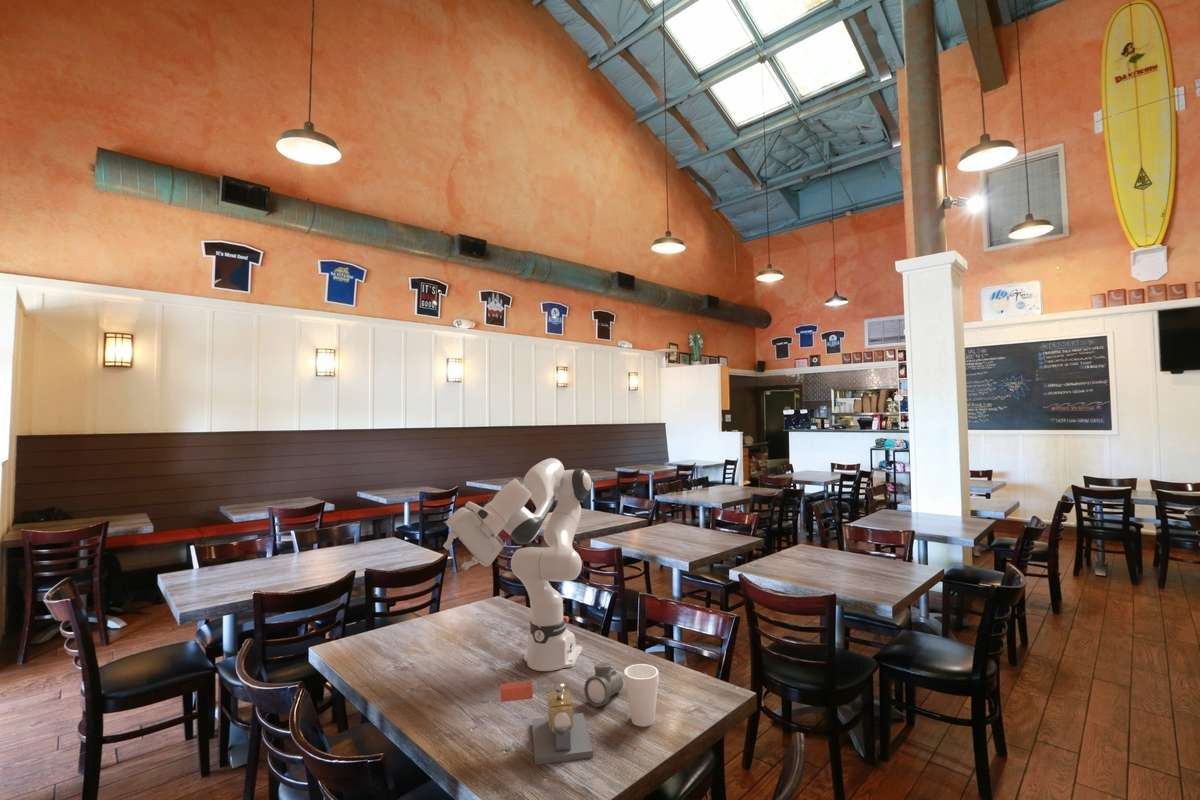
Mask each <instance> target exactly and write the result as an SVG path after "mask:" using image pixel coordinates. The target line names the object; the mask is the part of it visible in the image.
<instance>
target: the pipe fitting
mask: <svg viewBox="0 0 1200 800" xmlns="http://www.w3.org/2000/svg"><path fill="white" fill-rule="evenodd" d="M593 668H594V671H595V673H594V675H593V676H590V677H589V678H587V680H586V681H585V684H584V687H583V688H584V689H583V690H584V691H583V692H584V696H585V698H586V700H587V702H588V703H589V704H590V705H591V706H592V707H595V708H600V707H603V706H604V705H606V704H607V703H608V702H609V700H610V699H611V697H612V696H614V695H616V694H617V693H619V692H621V690H622V689H623V687H624V679H623V676H622V675H621V674H620V673H619V672H618V671H616V668H614V667H612V664H611V663H610V662H598V663H595V664H594V667H593Z"/></svg>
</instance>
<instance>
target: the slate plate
mask: <svg viewBox="0 0 1200 800" xmlns="http://www.w3.org/2000/svg"><path fill="white" fill-rule="evenodd" d="M531 723H532V724H531V726H532V740H533V741H532V743H533V752H534V753H533V755H534V766H536V765H537V766H538V765H544V764H552V763H559V762H566V761H567V762H568V761H575V760H581V759H590V758H594V754H593V752H594V750H593V747H592V743H591V739H590V735H589V731H588V727H587V724H586V719H585V715H584V712H581V713H580V712H579V713H573V727H572V728H573V730H570V734H571V751H563V752H556V747H555V732H552V730H550V729H549V721H548V716H547V717H538V718H537V717H536V718H532V719H531Z"/></svg>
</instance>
